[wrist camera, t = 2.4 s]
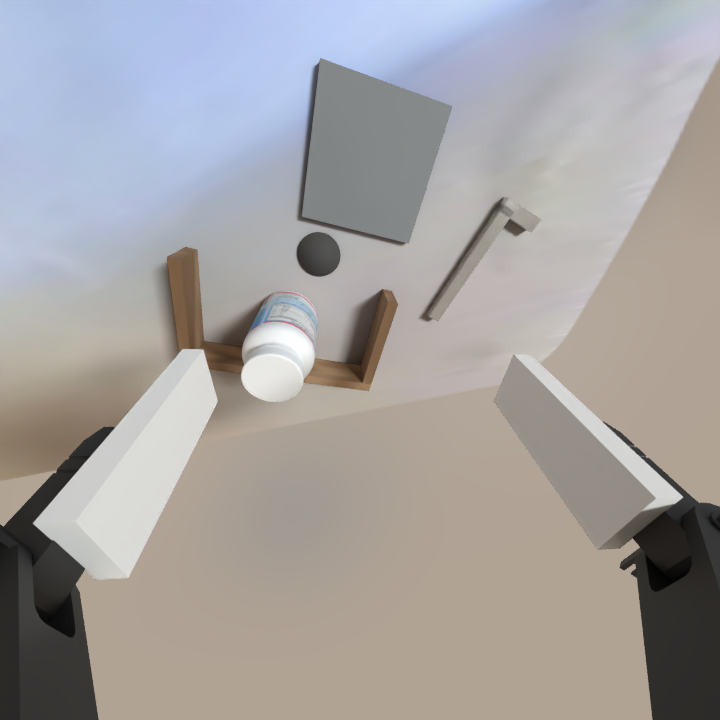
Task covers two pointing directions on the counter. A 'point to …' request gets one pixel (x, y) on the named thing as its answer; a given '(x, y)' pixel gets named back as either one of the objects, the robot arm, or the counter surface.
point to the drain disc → (319, 254)
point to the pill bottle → (280, 347)
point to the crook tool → (482, 250)
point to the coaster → (370, 153)
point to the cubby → (230, 357)
